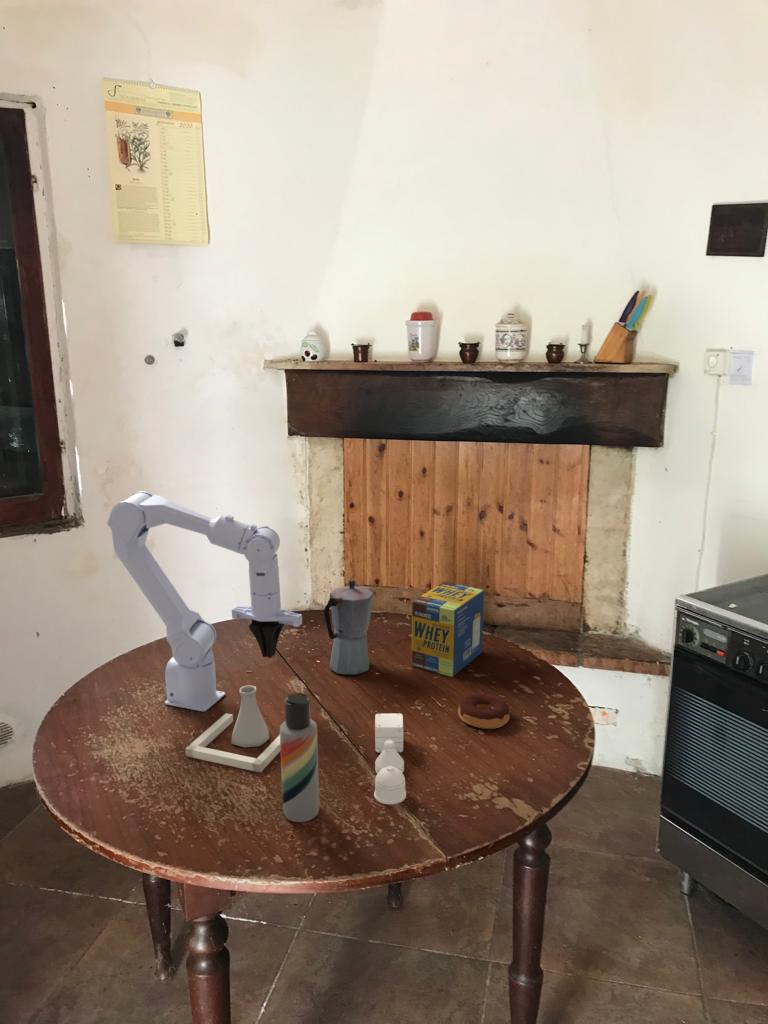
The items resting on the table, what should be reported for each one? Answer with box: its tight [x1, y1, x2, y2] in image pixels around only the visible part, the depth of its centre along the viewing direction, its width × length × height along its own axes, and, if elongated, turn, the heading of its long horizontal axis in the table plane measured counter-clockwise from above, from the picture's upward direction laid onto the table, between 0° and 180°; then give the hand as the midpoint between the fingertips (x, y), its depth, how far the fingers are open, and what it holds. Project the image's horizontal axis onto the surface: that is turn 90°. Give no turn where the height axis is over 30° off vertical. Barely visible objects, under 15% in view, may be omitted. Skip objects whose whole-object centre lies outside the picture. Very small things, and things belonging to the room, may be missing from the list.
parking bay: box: [185, 712, 281, 773], centre depth 146 cm, size 15×14×2 cm
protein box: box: [411, 581, 485, 678], centre depth 179 cm, size 10×15×16 cm
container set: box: [373, 712, 407, 805], centre depth 137 cm, size 20×5×6 cm, turn 0°
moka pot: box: [323, 580, 374, 676], centre depth 174 cm, size 10×15×20 cm, turn 148°
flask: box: [230, 685, 270, 748], centre depth 147 cm, size 7×7×10 cm
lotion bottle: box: [279, 692, 320, 823], centre depth 124 cm, size 6×6×20 cm
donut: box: [457, 692, 511, 730], centre depth 154 cm, size 10×10×4 cm
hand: (269, 655), depth 158 cm, fingers closed
